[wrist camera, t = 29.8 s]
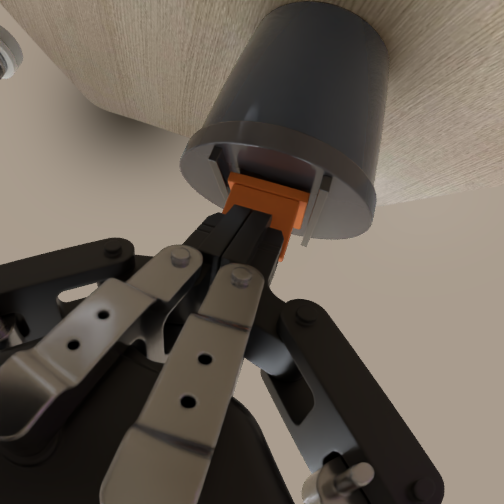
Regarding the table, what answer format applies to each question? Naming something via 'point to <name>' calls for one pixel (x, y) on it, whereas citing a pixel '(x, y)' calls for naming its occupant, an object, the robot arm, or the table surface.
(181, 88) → the table surface
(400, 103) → the table surface
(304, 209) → the lid slider
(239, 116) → the travel cup
